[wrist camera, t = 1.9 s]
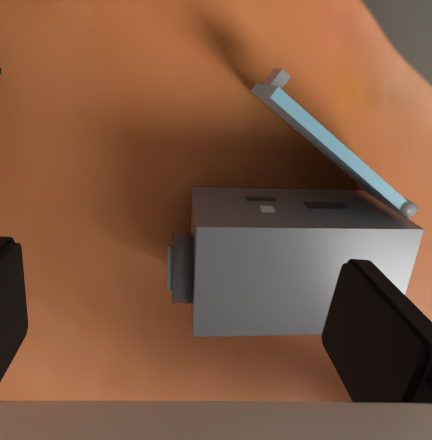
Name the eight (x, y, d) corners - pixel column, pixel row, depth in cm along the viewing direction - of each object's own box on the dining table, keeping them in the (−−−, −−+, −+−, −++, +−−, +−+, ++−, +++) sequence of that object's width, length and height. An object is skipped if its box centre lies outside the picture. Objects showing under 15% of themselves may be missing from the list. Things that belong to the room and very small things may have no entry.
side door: (380, 171, 33) (431, 196, 26) (362, 190, 34) (407, 220, 27) (266, 68, 29) (293, 68, 22) (248, 93, 29) (268, 100, 23)
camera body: (364, 188, 34) (429, 230, 25) (346, 274, 37) (398, 337, 29) (169, 184, 32) (165, 228, 23) (168, 275, 36) (165, 343, 27)
